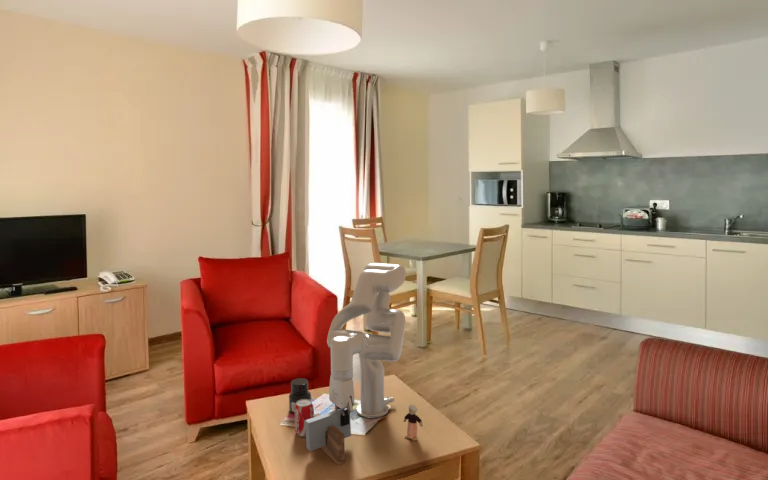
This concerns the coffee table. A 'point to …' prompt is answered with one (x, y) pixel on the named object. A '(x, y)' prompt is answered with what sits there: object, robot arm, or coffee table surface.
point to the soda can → (302, 415)
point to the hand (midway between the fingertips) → (342, 422)
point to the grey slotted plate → (324, 428)
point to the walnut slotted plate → (334, 443)
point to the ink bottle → (298, 392)
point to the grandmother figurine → (412, 422)
